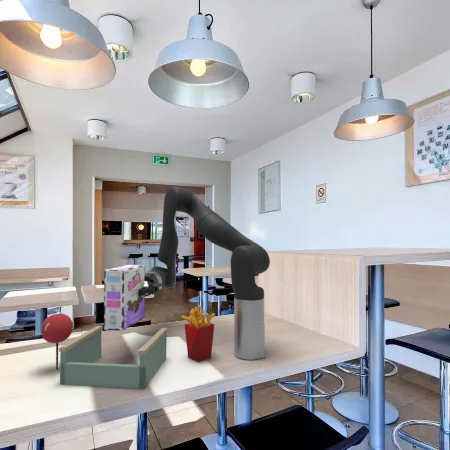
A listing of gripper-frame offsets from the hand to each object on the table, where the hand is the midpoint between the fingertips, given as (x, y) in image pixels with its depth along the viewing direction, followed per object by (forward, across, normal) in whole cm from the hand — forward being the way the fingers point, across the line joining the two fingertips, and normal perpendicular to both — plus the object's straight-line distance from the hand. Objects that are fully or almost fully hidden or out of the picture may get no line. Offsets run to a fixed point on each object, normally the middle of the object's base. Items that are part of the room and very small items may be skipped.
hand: (128, 292), depth 92 cm
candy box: (+2, 0, +9) cm, 9 cm away
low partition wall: (+7, 0, +20) cm, 21 cm away
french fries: (-4, +19, +20) cm, 28 cm away
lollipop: (+8, -17, +20) cm, 27 cm away
